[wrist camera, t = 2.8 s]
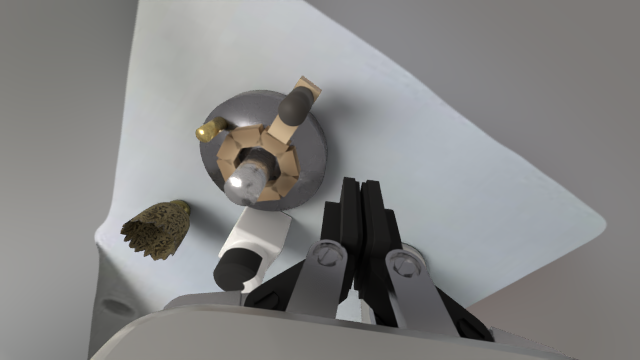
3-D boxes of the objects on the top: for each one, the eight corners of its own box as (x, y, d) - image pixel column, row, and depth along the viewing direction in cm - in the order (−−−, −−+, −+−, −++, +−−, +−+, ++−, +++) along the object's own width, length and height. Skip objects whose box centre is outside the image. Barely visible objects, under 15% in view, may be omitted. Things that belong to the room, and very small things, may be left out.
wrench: (275, 205, 34) (260, 239, 28) (213, 167, 32) (183, 197, 26) (348, 110, 26) (348, 131, 21) (272, 52, 24) (249, 58, 18)
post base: (345, 179, 34) (344, 227, 26) (252, 211, 39) (225, 260, 31) (291, 66, 28) (266, 80, 19) (187, 121, 32) (129, 152, 24)
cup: (181, 229, 43) (149, 266, 36) (149, 197, 40) (108, 231, 33) (212, 216, 41) (185, 253, 34) (182, 181, 38) (145, 214, 31)
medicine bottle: (236, 224, 41) (198, 287, 31) (252, 195, 38) (216, 256, 27) (274, 242, 42) (250, 309, 32) (293, 216, 39) (273, 282, 29)
